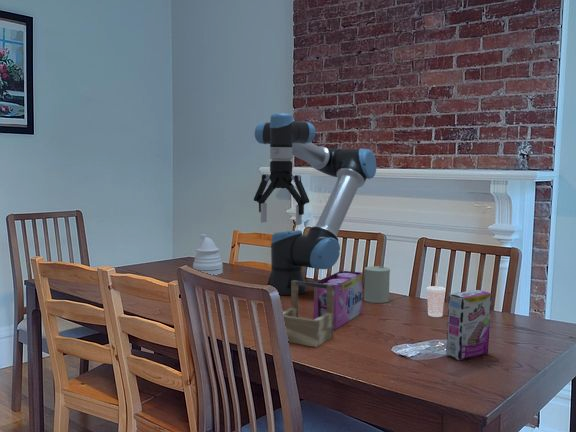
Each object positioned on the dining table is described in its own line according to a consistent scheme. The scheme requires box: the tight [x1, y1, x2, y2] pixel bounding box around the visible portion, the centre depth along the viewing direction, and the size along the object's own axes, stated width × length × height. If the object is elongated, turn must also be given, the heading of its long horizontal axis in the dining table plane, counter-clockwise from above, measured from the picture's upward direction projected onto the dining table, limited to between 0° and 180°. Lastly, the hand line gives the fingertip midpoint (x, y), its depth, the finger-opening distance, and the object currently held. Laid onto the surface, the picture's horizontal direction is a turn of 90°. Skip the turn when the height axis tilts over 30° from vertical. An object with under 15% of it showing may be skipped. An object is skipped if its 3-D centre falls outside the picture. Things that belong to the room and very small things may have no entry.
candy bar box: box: [445, 289, 492, 361], centre depth 153 cm, size 11×5×16 cm, turn 123°
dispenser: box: [282, 280, 334, 348], centre depth 166 cm, size 11×13×15 cm
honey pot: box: [192, 233, 224, 275], centre depth 255 cm, size 13×13×18 cm
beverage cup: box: [426, 272, 446, 318], centre depth 192 cm, size 6×6×14 cm
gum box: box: [312, 270, 363, 330], centre depth 186 cm, size 24×8×14 cm, turn 153°
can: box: [363, 265, 391, 304], centre depth 212 cm, size 9×9×12 cm
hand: (280, 223), depth 200 cm, fingers open, 13 cm apart
